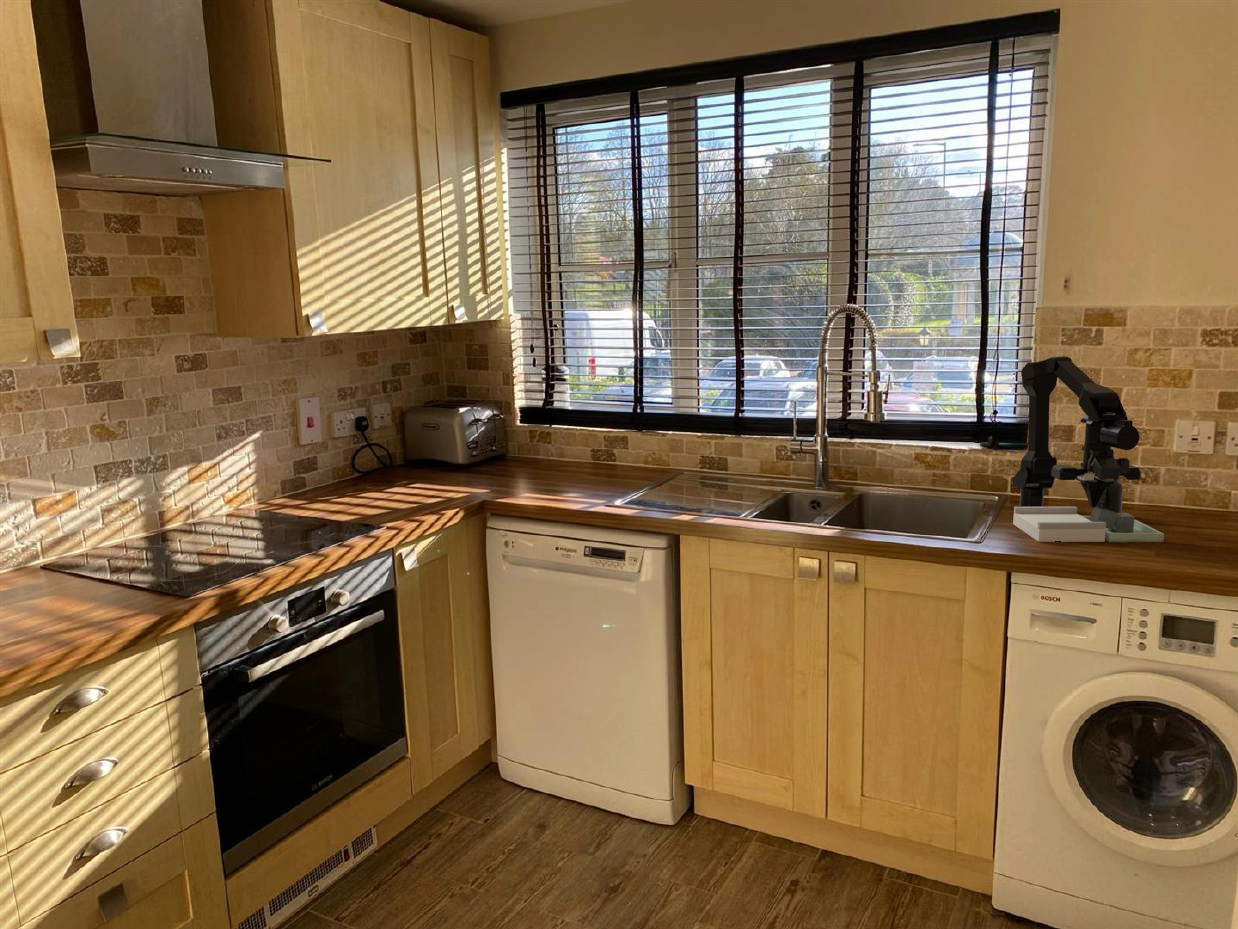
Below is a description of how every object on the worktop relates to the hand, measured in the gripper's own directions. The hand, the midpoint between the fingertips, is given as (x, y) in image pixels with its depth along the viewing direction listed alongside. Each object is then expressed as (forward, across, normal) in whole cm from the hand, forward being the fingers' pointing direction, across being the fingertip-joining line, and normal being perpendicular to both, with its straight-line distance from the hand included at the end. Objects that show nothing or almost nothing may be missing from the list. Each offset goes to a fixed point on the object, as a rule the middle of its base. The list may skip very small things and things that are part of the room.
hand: (1093, 507), depth 221 cm
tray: (+6, +6, 0) cm, 9 cm away
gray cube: (+4, +5, 0) cm, 6 cm away
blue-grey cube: (+4, +2, 0) cm, 5 cm away
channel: (+6, -8, 0) cm, 10 cm away
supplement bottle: (+6, +10, +16) cm, 20 cm away
